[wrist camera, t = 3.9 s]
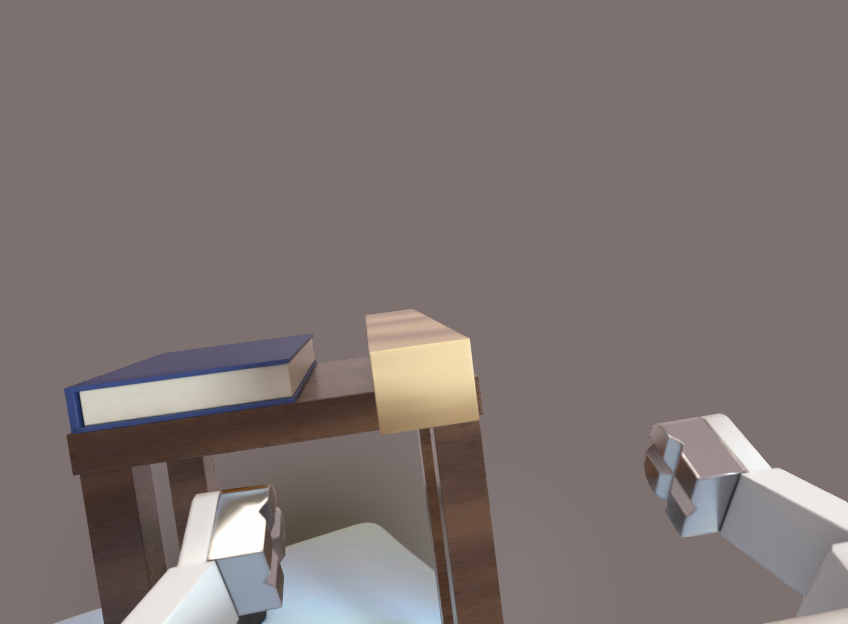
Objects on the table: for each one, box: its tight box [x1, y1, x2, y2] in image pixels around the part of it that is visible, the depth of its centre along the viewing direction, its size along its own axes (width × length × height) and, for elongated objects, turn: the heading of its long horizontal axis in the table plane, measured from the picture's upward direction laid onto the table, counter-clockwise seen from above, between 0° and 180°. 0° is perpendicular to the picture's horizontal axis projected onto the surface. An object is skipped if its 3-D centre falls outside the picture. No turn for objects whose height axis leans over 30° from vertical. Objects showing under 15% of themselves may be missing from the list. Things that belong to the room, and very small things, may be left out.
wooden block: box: [366, 309, 479, 435], centre depth 32 cm, size 23×4×3 cm, turn 6°
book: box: [64, 334, 317, 434], centre depth 35 cm, size 14×10×2 cm
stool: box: [67, 356, 503, 624], centre depth 36 cm, size 14×20×25 cm
